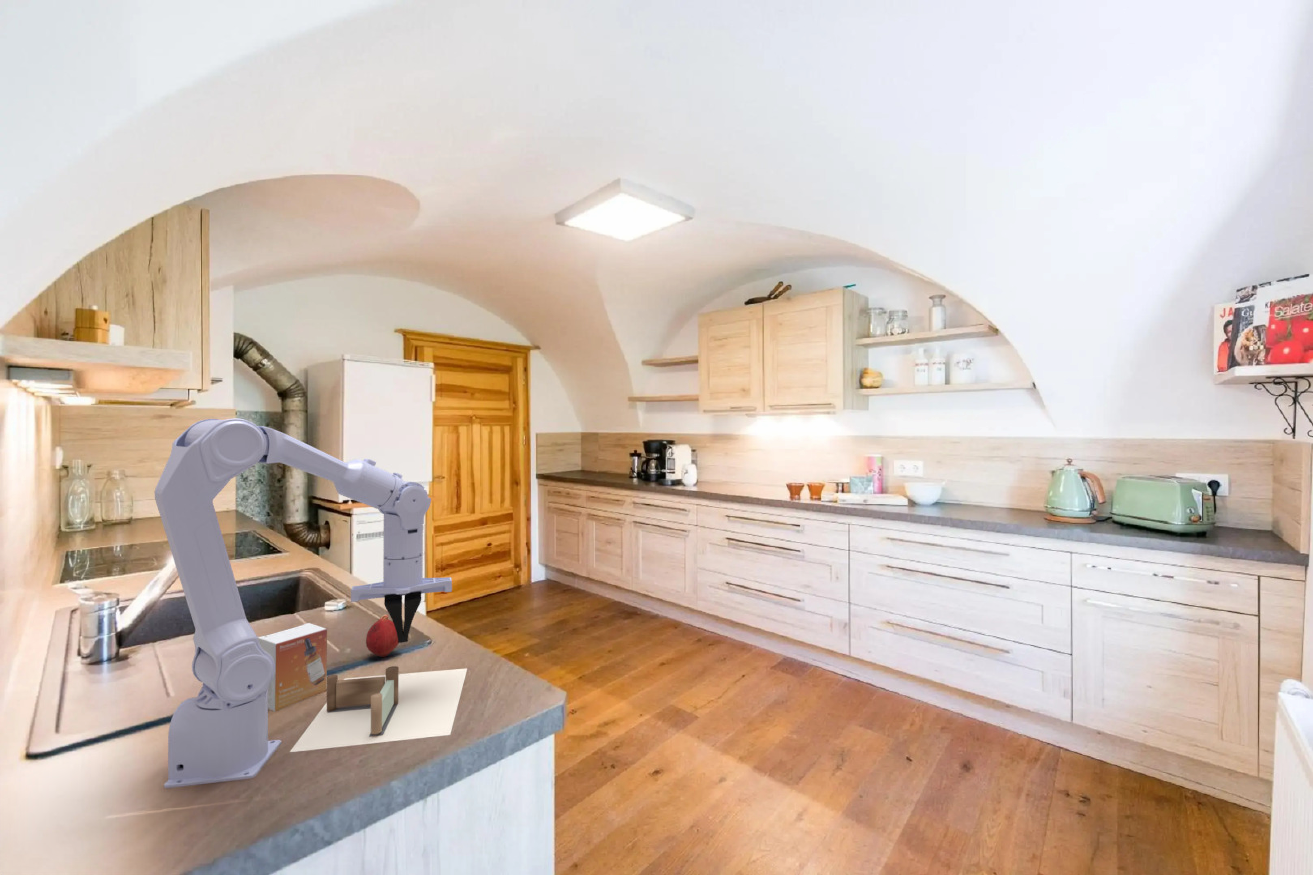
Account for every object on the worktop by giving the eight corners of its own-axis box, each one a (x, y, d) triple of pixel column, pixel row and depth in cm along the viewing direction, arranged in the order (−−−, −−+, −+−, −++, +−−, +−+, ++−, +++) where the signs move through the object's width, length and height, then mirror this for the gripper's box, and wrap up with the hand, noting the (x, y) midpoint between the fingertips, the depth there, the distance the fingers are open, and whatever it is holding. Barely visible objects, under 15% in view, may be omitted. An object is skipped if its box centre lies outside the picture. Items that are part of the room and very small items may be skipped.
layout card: (289, 754, 72) (289, 751, 72) (344, 680, 94) (344, 678, 94) (450, 736, 77) (450, 734, 77) (467, 669, 98) (467, 667, 98)
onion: (375, 666, 100) (375, 622, 99) (360, 658, 103) (360, 615, 103) (406, 656, 104) (406, 614, 104) (390, 648, 108) (391, 607, 108)
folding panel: (385, 704, 84) (385, 672, 84) (395, 703, 85) (395, 671, 84) (369, 734, 76) (369, 698, 76) (380, 733, 76) (380, 697, 76)
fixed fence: (324, 712, 83) (325, 676, 82) (329, 707, 84) (329, 671, 84) (396, 706, 85) (397, 670, 85) (399, 700, 87) (399, 665, 86)
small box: (274, 713, 83) (274, 644, 83) (255, 704, 86) (255, 636, 85) (328, 692, 90) (328, 627, 90) (309, 683, 93) (309, 621, 92)
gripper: (348, 565, 81) (348, 656, 82) (453, 557, 87) (452, 642, 87) (353, 555, 88) (353, 640, 88) (450, 548, 94) (450, 627, 94)
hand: (403, 640), depth 88 cm, fingers closed
